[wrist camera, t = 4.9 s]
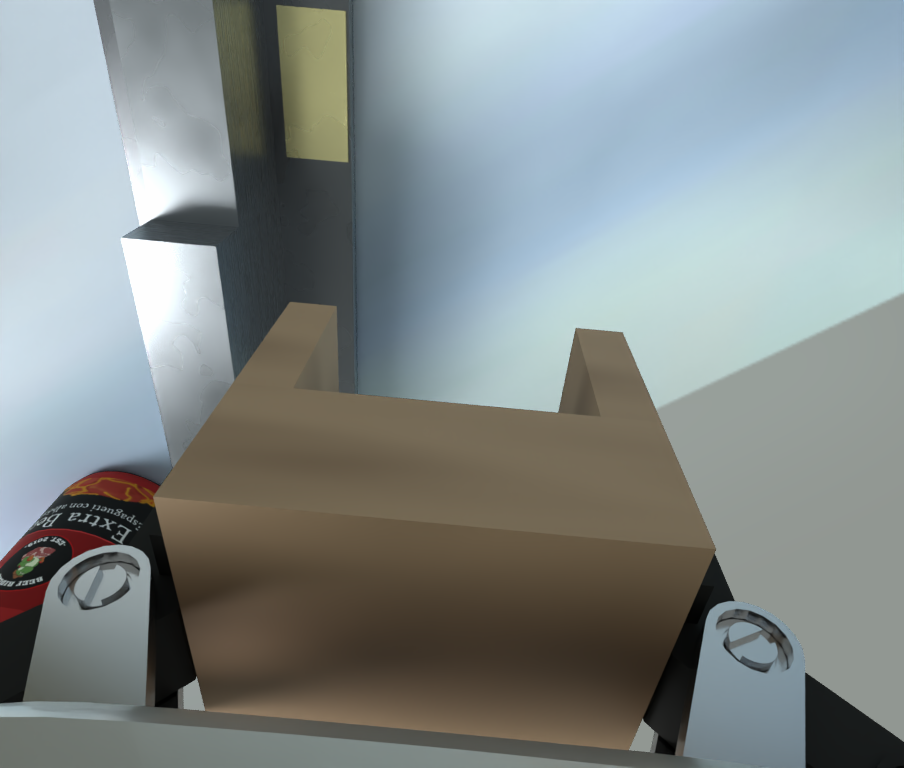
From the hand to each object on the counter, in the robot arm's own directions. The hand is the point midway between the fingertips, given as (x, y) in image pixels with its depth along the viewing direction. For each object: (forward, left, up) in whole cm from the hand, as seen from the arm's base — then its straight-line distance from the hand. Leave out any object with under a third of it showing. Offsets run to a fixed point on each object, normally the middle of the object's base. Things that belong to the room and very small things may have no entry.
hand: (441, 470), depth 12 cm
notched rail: (+1, +9, -15) cm, 18 cm away
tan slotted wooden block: (0, 0, -1) cm, 1 cm away
